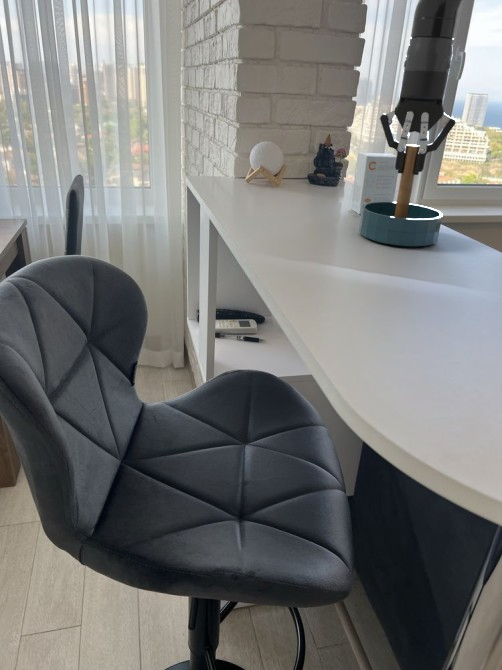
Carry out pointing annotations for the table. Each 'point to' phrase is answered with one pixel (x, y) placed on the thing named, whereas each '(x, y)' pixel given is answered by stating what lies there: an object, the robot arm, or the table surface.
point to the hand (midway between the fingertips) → (408, 173)
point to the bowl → (400, 224)
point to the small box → (374, 179)
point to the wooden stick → (406, 181)
